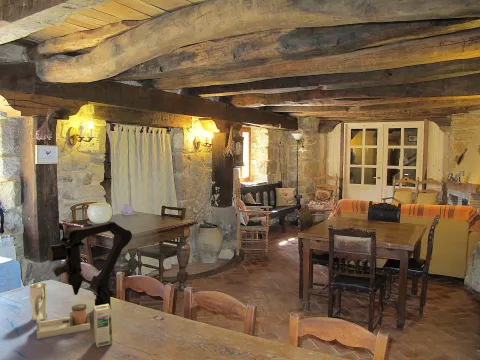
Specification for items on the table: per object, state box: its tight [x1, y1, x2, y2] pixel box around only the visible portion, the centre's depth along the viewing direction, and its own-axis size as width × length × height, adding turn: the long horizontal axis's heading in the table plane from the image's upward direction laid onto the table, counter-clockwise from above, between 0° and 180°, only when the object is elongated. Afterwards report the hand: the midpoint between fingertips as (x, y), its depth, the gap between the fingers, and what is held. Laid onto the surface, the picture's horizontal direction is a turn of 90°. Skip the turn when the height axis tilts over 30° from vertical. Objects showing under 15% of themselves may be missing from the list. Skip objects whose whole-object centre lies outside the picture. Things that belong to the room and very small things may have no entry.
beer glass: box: [29, 282, 48, 322], centre depth 183 cm, size 7×7×15 cm
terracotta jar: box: [71, 303, 87, 326], centre depth 176 cm, size 6×6×8 cm
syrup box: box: [92, 304, 113, 348], centre depth 161 cm, size 6×6×14 cm
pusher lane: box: [36, 313, 91, 340], centre depth 173 cm, size 20×11×6 cm, turn 113°
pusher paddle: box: [62, 311, 73, 326], centre depth 174 cm, size 4×8×4 cm, turn 23°
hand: (75, 291), depth 184 cm, fingers open, 9 cm apart
